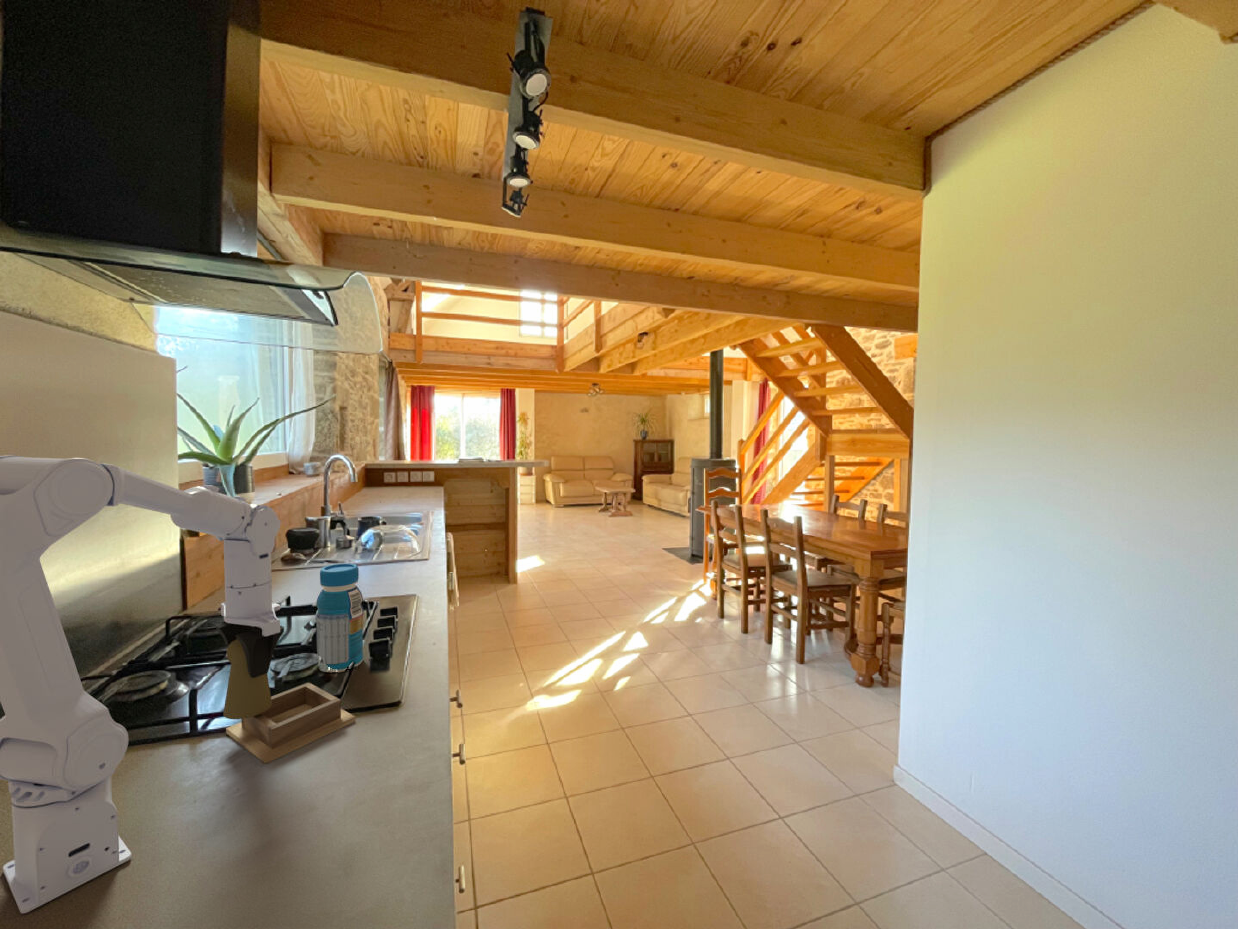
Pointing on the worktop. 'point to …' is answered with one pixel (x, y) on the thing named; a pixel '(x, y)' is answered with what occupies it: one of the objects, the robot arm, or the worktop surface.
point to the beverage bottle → (340, 617)
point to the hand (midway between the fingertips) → (250, 670)
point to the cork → (244, 687)
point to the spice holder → (290, 722)
